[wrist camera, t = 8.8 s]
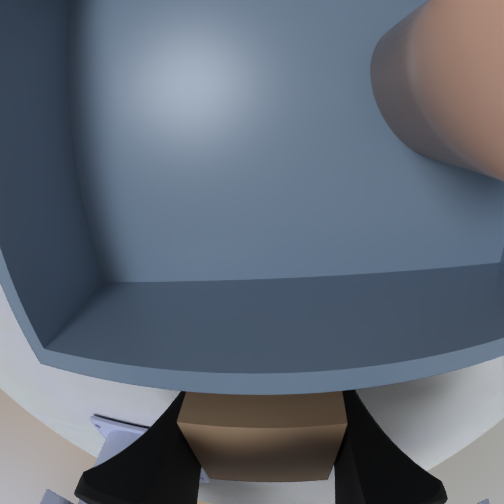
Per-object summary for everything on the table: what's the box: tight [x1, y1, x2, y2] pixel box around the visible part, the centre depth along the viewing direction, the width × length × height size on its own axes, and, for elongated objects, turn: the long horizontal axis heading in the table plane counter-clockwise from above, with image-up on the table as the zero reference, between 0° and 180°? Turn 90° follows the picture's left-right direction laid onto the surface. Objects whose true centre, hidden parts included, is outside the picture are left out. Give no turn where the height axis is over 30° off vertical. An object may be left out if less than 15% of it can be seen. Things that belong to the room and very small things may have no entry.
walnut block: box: [177, 391, 347, 482], centre depth 10 cm, size 5×5×5 cm
